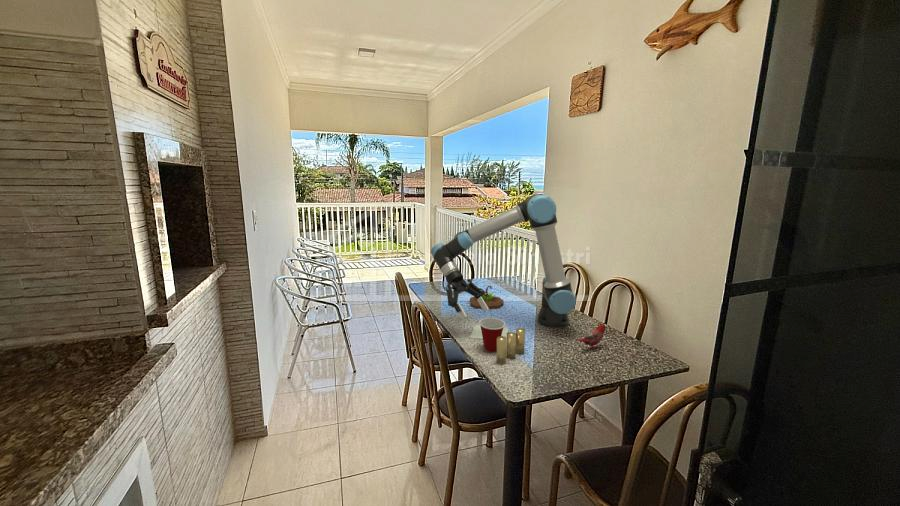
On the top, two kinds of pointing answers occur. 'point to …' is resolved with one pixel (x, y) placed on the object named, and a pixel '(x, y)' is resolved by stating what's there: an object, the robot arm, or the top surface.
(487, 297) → the plant
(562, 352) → the top surface
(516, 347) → the spacer posts
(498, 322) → the plastic cup
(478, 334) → the mat
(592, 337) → the decorative bird figurine
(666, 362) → the top surface
